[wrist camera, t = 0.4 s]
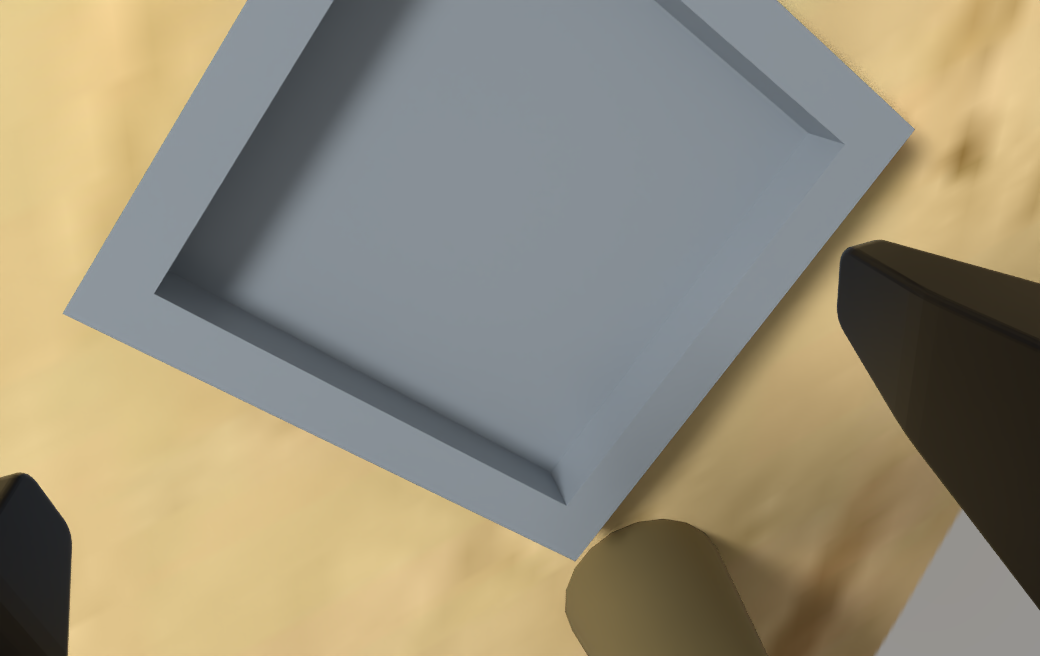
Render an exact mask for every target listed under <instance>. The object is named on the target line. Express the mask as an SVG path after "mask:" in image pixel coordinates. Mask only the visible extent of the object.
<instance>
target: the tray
mask: <svg viewBox="0 0 1040 656" xmlns="http://www.w3.org/2000/svg"><path fill="white" fill-rule="evenodd" d="M914 130H915V129H914V128H913V127H912V126H911V125H910V124H909V123H907V122H906V121H905V120H904V119H903V118H902V117H901V116H900V115H899V114H898V113H897V112H896V111H895V110H894V109H892V108H891V107H890V106H889V105H888V104H887V103H886V102H885V101H884V100H883V99H882V98H881V97H880V96H879V95H877V94H876V93H875V92H874V91H873V90H872V89H871V88H870V87H869V86H868V85H867V84H866V83H865V82H864V81H862V80H861V79H860V78H859V77H858V76H857V75H856V74H855V73H854V72H853V71H852V70H851V69H850V68H849V67H847V66H846V65H845V64H844V63H843V62H842V61H841V60H840V59H839V58H838V57H837V56H836V55H835V54H834V53H832V52H831V51H830V50H829V49H828V48H827V47H826V46H825V45H824V44H823V43H822V42H821V41H820V40H819V39H817V38H816V37H815V36H814V35H813V34H812V33H811V32H810V31H809V30H808V29H807V28H806V27H805V26H804V25H803V24H801V23H800V22H799V21H798V20H797V19H796V18H795V17H794V16H793V15H792V14H791V13H790V12H789V11H788V10H786V9H785V8H784V7H783V6H782V5H781V4H780V3H779V2H778V1H777V0H247V2H246V4H245V5H244V7H243V9H242V10H241V12H240V14H239V15H238V17H237V19H236V21H235V22H234V24H233V26H232V27H231V29H230V31H229V32H228V34H227V36H226V37H225V39H224V41H223V43H222V44H221V46H220V48H219V49H218V51H217V53H216V54H215V56H214V58H213V60H212V61H211V63H210V65H209V66H208V68H207V70H206V71H205V73H204V75H203V76H202V78H201V80H200V82H199V83H198V85H197V87H196V88H195V90H194V92H193V93H192V95H191V97H190V98H189V100H188V102H187V104H186V105H185V107H184V109H183V110H182V112H181V114H180V115H179V117H178V119H177V121H176V122H175V124H174V126H173V127H172V129H171V131H170V132H169V134H168V136H167V137H166V139H165V141H164V143H163V144H162V146H161V148H160V149H159V151H158V153H157V154H156V156H155V158H154V159H153V161H152V163H151V165H150V166H149V168H148V170H147V171H146V173H145V175H144V176H143V178H142V180H141V182H140V183H139V185H138V187H137V188H136V190H135V192H134V193H133V195H132V197H131V198H130V200H129V202H128V204H127V205H126V207H125V209H124V210H123V212H122V214H121V215H120V217H119V219H118V221H117V222H116V224H115V226H114V227H113V229H112V231H111V232H110V234H109V236H108V237H107V239H106V241H105V243H104V244H103V246H102V248H101V249H100V251H99V253H98V254H97V256H96V258H95V259H94V261H93V263H92V265H91V266H90V268H89V270H88V271H87V273H86V275H85V276H84V278H83V280H82V282H81V283H80V285H79V287H78V288H77V290H76V292H75V293H74V295H73V297H72V298H71V300H70V302H69V304H68V305H67V307H66V309H65V310H64V312H63V314H65V315H67V316H69V317H71V318H73V319H75V320H77V321H79V322H81V323H83V324H85V325H87V326H89V327H91V328H94V329H96V330H98V331H100V332H102V333H104V334H106V335H108V336H110V337H112V338H114V339H116V340H118V341H120V342H123V343H125V344H127V345H129V346H131V347H133V348H135V349H137V350H139V351H141V352H143V353H145V354H147V355H149V356H152V357H154V358H156V359H158V360H160V361H162V362H164V363H166V364H168V365H170V366H172V367H174V368H176V369H178V370H180V371H183V372H185V373H187V374H189V375H191V376H193V377H195V378H197V379H199V380H201V381H203V382H205V383H207V384H209V385H212V386H214V387H216V388H218V389H220V390H222V391H224V392H226V393H228V394H230V395H232V396H234V397H236V398H238V399H240V400H243V401H245V402H247V403H249V404H251V405H253V406H255V407H257V408H259V409H261V410H263V411H265V412H267V413H269V414H272V415H274V416H276V417H278V418H280V419H282V420H284V421H286V422H288V423H290V424H292V425H294V426H296V427H298V428H300V429H303V430H305V431H307V432H309V433H311V434H313V435H315V436H317V437H319V438H321V439H323V440H325V441H327V442H329V443H332V444H334V445H336V446H338V447H340V448H342V449H344V450H346V451H348V452H350V453H352V454H354V455H356V456H358V457H360V458H363V459H365V460H367V461H369V462H371V463H373V464H375V465H377V466H379V467H381V468H383V469H385V470H387V471H389V472H392V473H394V474H396V475H398V476H400V477H402V478H404V479H406V480H408V481H410V482H412V483H414V484H416V485H418V486H421V487H423V488H425V489H427V490H429V491H431V492H433V493H435V494H437V495H439V496H441V497H443V498H445V499H447V500H449V501H452V502H454V503H456V504H458V505H460V506H462V507H464V508H466V509H468V510H470V511H472V512H474V513H476V514H478V515H481V516H483V517H485V518H487V519H489V520H491V521H493V522H495V523H497V524H499V525H501V526H503V527H505V528H507V529H509V530H512V531H514V532H516V533H518V534H520V535H522V536H524V537H526V538H528V539H530V540H532V541H534V542H536V543H538V544H541V545H543V546H545V547H547V548H549V549H551V550H553V551H555V552H557V553H559V554H561V555H563V556H565V557H567V558H569V559H572V560H574V561H576V560H577V559H578V557H579V556H580V555H581V554H582V552H583V551H584V550H585V548H586V547H587V546H588V545H589V543H590V542H591V541H592V540H593V538H594V537H595V536H596V534H597V533H598V532H599V531H600V529H601V528H602V527H603V526H604V524H605V523H606V522H607V520H608V519H609V518H610V517H611V515H612V514H613V513H614V512H615V510H616V509H617V508H618V506H619V505H620V504H621V503H622V501H623V500H624V499H625V498H626V496H627V495H628V494H629V492H630V491H631V490H632V489H633V487H634V486H635V485H636V484H637V482H638V481H639V480H640V478H641V477H642V476H643V475H644V473H645V472H646V471H647V470H648V468H649V467H650V466H651V465H652V463H653V462H654V461H655V459H656V458H657V457H658V456H659V454H660V453H661V452H662V451H663V449H664V448H665V447H666V445H667V444H668V443H669V442H670V440H671V439H672V438H673V437H674V435H675V434H676V433H677V431H678V430H679V429H680V428H681V426H682V425H683V424H684V423H685V421H686V420H687V419H688V417H689V416H690V415H691V414H692V412H693V411H694V410H695V409H696V407H697V406H698V405H699V403H700V402H701V401H702V400H703V398H704V397H705V396H706V395H707V393H708V392H709V391H710V389H711V388H712V387H713V386H714V384H715V383H716V382H717V381H718V379H719V378H720V377H721V375H722V374H723V373H724V372H725V370H726V369H727V368H728V367H729V365H730V364H731V363H732V361H733V360H734V359H735V358H736V356H737V355H738V354H739V353H740V351H741V350H742V349H743V347H744V346H745V345H746V344H747V342H748V341H749V340H750V339H751V337H752V336H753V335H754V333H755V332H756V331H757V330H758V328H759V327H760V326H761V325H762V323H763V322H764V321H765V319H766V318H767V317H768V316H769V314H770V313H771V312H772V311H773V309H774V308H775V307H776V305H777V304H778V303H779V302H780V300H781V299H782V298H783V297H784V295H785V294H786V293H787V292H788V290H789V289H790V288H791V286H792V285H793V284H794V283H795V281H796V280H797V279H798V278H799V276H800V275H801V274H802V272H803V271H804V270H805V269H806V267H807V266H808V265H809V264H810V262H811V261H812V260H813V258H814V257H815V256H816V255H817V253H818V252H819V251H820V250H821V248H822V247H823V246H824V244H825V243H826V242H827V241H828V239H829V238H830V237H831V236H832V234H833V233H834V232H835V230H836V229H837V228H838V227H839V225H840V224H841V223H842V222H843V220H844V219H845V218H846V216H847V215H848V214H849V213H850V211H851V210H852V209H853V208H854V206H855V205H856V204H857V202H858V201H859V200H860V199H861V197H862V196H863V195H864V194H865V192H866V191H867V190H868V188H869V187H870V186H871V185H872V183H873V182H874V181H875V180H876V178H877V177H878V176H879V174H880V173H881V172H882V171H883V169H884V168H885V167H886V166H887V164H888V163H889V162H890V160H891V159H892V158H893V157H894V155H895V154H896V153H897V152H898V150H899V149H900V148H901V146H902V145H903V144H904V143H905V141H906V140H907V139H908V138H909V136H910V135H911V134H912V132H913V131H914Z"/></svg>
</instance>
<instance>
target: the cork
mask: <svg viewBox="0 0 1040 656" xmlns="http://www.w3.org/2000/svg"><path fill="white" fill-rule="evenodd" d="M565 612H566V615H567V618H568V620H569V623H570V626H571V628H572V631H573V632H574V634H575V636H576V637H577V639H578V640H579V642H580V644H581V645H582V647H583V649H584V650H585V652H586V653H587V655H588V656H768V655H767V653H766V651H765V649H764V647H763V644H762V642H761V640H760V638H759V636H758V634H757V632H756V630H755V628H754V625H753V623H752V621H751V619H750V617H749V615H748V613H747V611H746V609H745V607H744V604H743V602H742V600H741V598H740V596H739V594H738V592H737V590H736V588H735V585H734V583H733V581H732V579H731V577H730V575H729V573H728V571H727V569H726V566H725V564H724V562H723V560H722V558H721V556H720V554H719V552H718V550H717V548H716V547H715V545H714V544H713V543H712V542H711V540H710V539H709V538H708V537H707V535H706V534H705V533H704V532H702V531H700V530H698V529H696V528H695V527H693V526H691V525H689V524H687V523H684V522H678V521H672V520H666V519H659V520H652V521H644V522H637V523H635V524H632V525H630V526H627V527H625V528H622V529H620V530H618V531H615V532H613V533H611V534H610V535H609V536H607V537H606V538H604V539H603V540H602V541H600V542H599V543H598V544H596V545H595V546H594V547H592V548H591V549H590V550H589V552H588V553H587V554H586V555H585V557H584V558H583V559H582V560H581V562H580V563H579V564H578V565H577V567H576V568H575V569H574V572H573V574H572V577H571V579H570V582H569V584H568V587H567V589H566V606H565Z"/></svg>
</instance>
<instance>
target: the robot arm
mask: <svg viewBox="0 0 1040 656" xmlns="http://www.w3.org/2000/svg"><path fill="white" fill-rule="evenodd" d="M837 313H838V319H839V322H840V325H841V327H842V329H843V331H844V333H845V335H846V336H847V338H848V340H849V341H850V343H851V345H852V346H853V348H854V350H855V351H856V353H857V355H858V356H859V358H860V360H861V361H862V363H863V365H864V366H865V368H866V370H867V371H868V373H869V375H870V377H871V378H872V380H873V382H874V383H875V385H876V387H877V388H878V390H879V392H880V393H881V395H882V397H883V398H884V400H885V402H886V403H887V405H888V407H889V408H890V410H891V412H892V414H893V415H894V417H895V418H896V420H897V421H898V423H899V425H900V426H901V428H902V429H903V431H904V432H905V434H906V435H907V437H908V438H909V439H910V441H911V442H912V443H913V445H914V446H915V448H916V449H917V450H918V452H919V453H920V454H921V456H922V457H923V458H924V459H925V461H926V462H927V463H928V465H929V466H930V467H931V469H932V470H933V471H934V473H935V474H936V475H937V476H938V478H939V479H940V480H941V482H942V483H943V484H944V486H945V487H946V488H947V490H948V491H949V492H950V493H951V495H952V496H953V497H954V499H955V500H956V501H957V503H958V504H959V505H960V507H961V508H962V509H963V510H964V512H965V513H966V514H967V516H968V517H969V518H970V520H971V521H972V522H973V524H974V525H975V526H976V527H977V529H978V530H979V531H980V533H981V534H982V535H983V537H984V538H985V539H986V541H987V542H988V543H989V544H990V546H991V547H992V548H993V550H994V551H995V552H996V554H997V555H998V556H999V557H1000V559H1001V560H1002V562H1003V563H1004V564H1005V565H1006V567H1007V568H1008V569H1009V571H1010V572H1011V573H1012V575H1013V576H1014V577H1015V579H1016V580H1017V581H1018V582H1019V584H1020V585H1021V586H1022V588H1023V589H1024V590H1025V592H1026V593H1027V594H1028V595H1029V597H1030V598H1031V599H1032V601H1033V602H1034V603H1035V605H1036V606H1037V607H1038V609H1039V610H1040V283H1036V282H1033V281H1029V280H1025V279H1022V278H1018V277H1015V276H1011V275H1007V274H1004V273H1000V272H997V271H993V270H989V269H986V268H982V267H979V266H975V265H971V264H968V263H964V262H961V261H957V260H953V259H950V258H946V257H943V256H939V255H935V254H932V253H928V252H925V251H921V250H918V249H914V248H910V247H907V246H903V245H900V244H896V243H892V242H889V241H885V240H874V241H870V242H866V243H863V244H859V245H855V246H852V247H849V248H847V249H846V250H845V251H844V252H843V254H842V256H841V260H840V269H839V284H838V299H837ZM71 558H72V540H71V534H70V531H69V528H68V526H67V524H66V522H65V520H64V519H63V517H62V516H61V515H60V513H59V512H58V511H57V509H56V508H55V507H54V505H53V504H52V502H51V501H50V500H49V498H48V497H47V496H46V494H45V493H44V492H43V490H42V489H41V487H40V486H39V485H38V483H37V482H36V481H35V480H34V479H33V478H32V477H31V476H29V475H28V474H25V473H15V474H11V475H7V476H4V477H0V656H68V637H69V611H70V584H71Z"/></svg>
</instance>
